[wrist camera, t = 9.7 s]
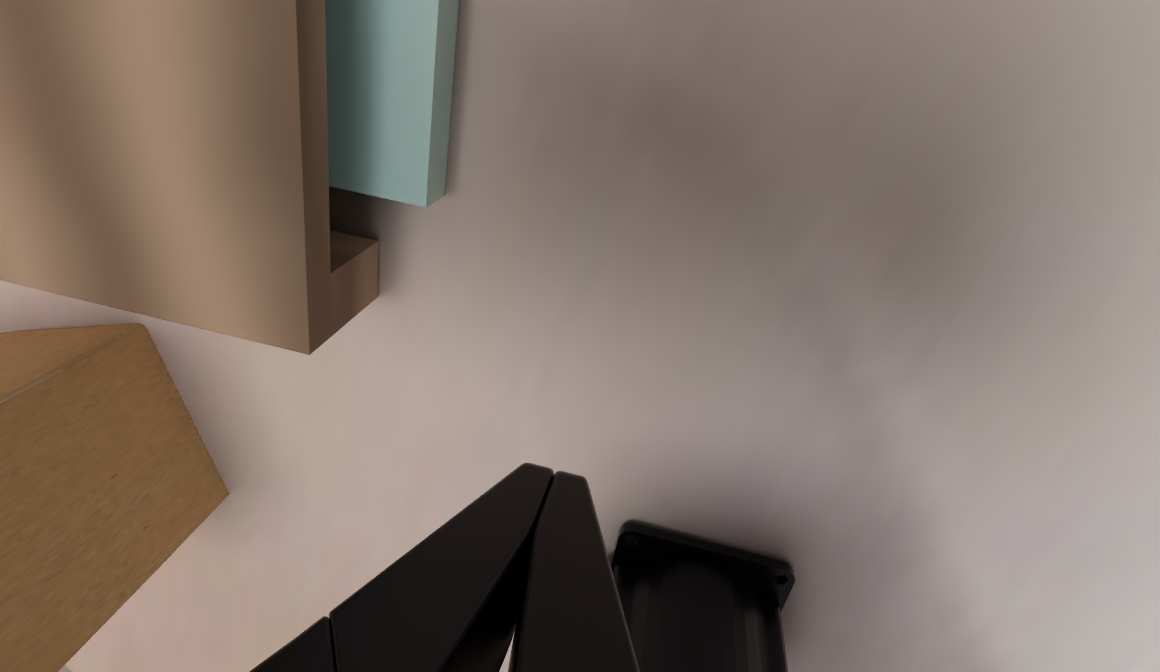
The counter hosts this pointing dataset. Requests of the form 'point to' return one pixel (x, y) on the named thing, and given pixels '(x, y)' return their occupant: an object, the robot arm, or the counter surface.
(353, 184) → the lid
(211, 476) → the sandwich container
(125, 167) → the low shelf
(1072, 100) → the counter surface
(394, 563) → the robot arm
